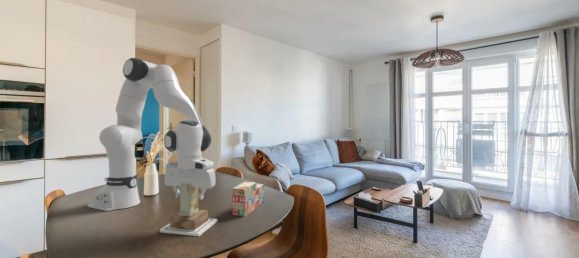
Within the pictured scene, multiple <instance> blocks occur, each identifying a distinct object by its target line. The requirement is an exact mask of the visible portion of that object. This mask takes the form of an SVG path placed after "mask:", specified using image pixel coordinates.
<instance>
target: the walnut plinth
mask: <svg viewBox="0 0 579 258" xmlns="http://www.w3.org/2000/svg"><path fill="white" fill-rule="evenodd" d="M208 218H209V210H207V209H198V212H197V213H195V214H194V215H192V216H190V217H188V216H180V211H179V212H178V213H176V214H174V215H172V216H170V218H169V220H170V221H169V222H170V223H169V224H170V228H175V229H185V230H194V231H195V230H196V229H197V228H199V227H200V226H201V225H203V224H204V223H205V222H207V221H208Z"/></svg>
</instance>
